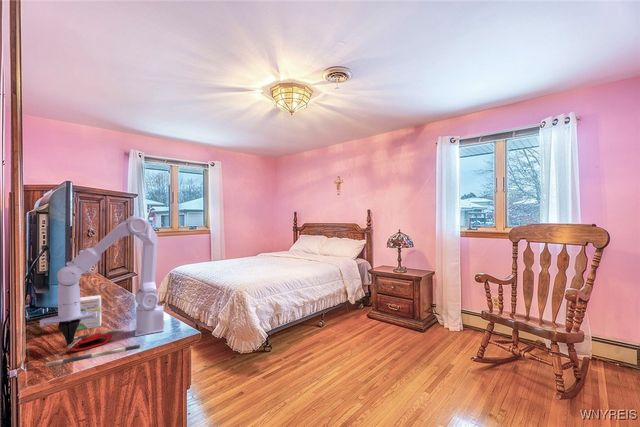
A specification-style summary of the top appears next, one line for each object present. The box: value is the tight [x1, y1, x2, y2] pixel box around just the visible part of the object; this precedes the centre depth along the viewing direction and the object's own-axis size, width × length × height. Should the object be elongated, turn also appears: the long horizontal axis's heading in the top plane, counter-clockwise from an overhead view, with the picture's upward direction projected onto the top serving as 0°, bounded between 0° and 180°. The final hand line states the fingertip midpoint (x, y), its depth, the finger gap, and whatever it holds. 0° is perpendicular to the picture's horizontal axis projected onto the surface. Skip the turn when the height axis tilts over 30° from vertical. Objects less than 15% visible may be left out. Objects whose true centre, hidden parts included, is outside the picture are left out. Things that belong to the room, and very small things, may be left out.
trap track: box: [44, 328, 141, 368], centre depth 104 cm, size 24×21×1 cm
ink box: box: [76, 294, 102, 332], centre depth 120 cm, size 8×5×12 cm, turn 122°
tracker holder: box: [67, 332, 112, 352], centre depth 103 cm, size 12×4×10 cm
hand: (70, 343), depth 100 cm, fingers closed
